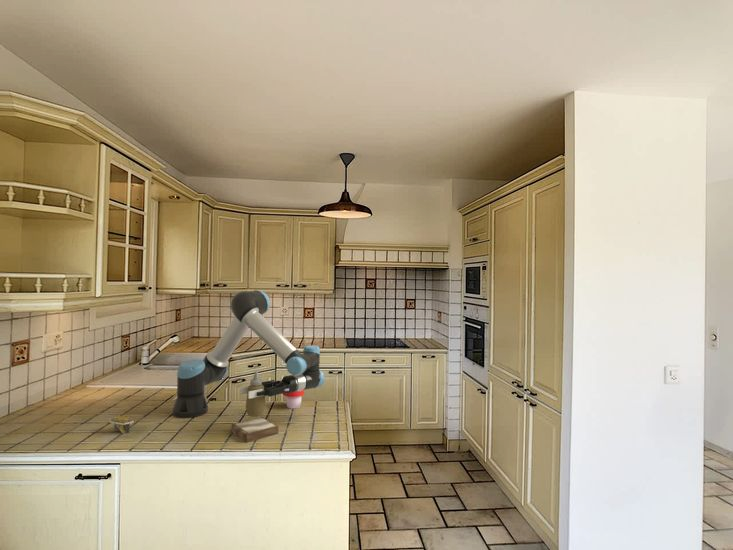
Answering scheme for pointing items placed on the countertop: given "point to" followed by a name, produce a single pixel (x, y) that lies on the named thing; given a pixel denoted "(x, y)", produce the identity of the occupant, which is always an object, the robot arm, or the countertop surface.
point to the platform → (121, 423)
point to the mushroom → (293, 399)
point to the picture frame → (254, 429)
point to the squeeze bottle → (258, 403)
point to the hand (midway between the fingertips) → (244, 393)
